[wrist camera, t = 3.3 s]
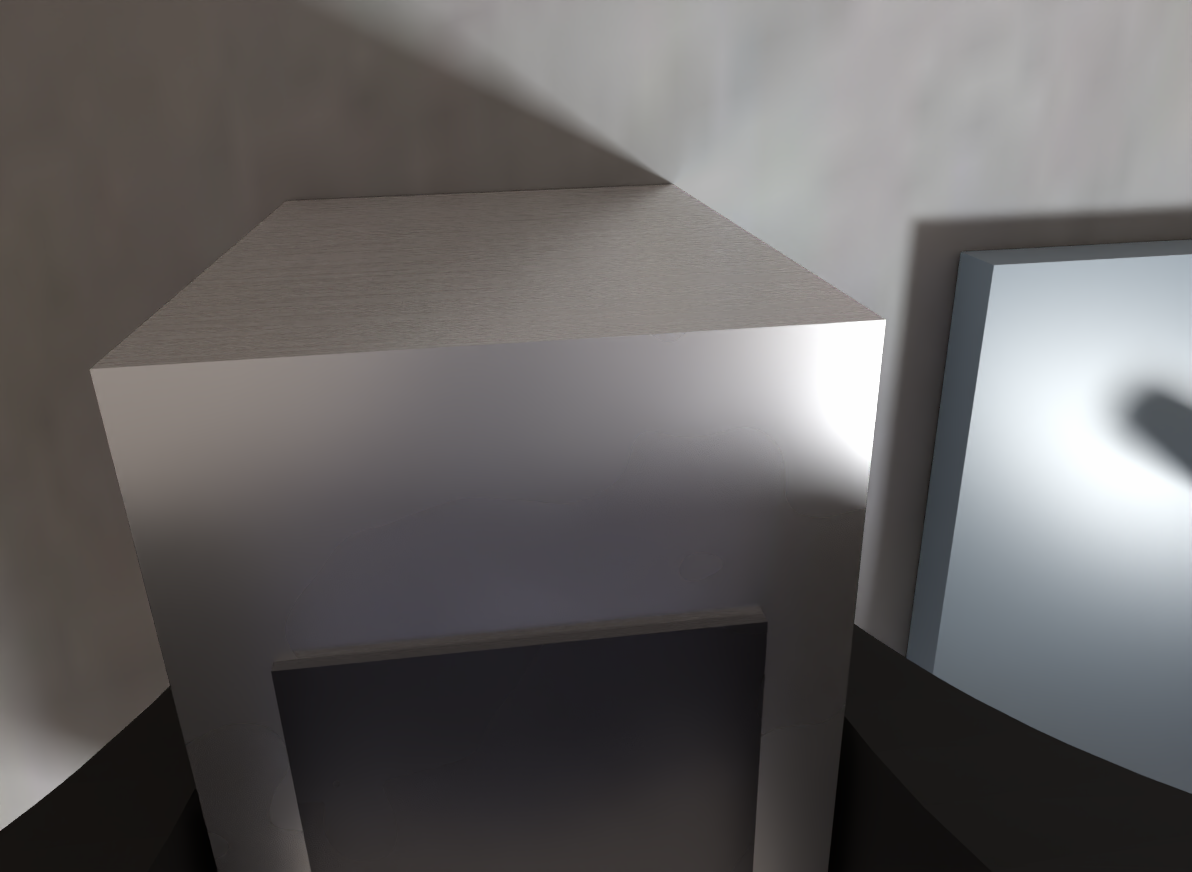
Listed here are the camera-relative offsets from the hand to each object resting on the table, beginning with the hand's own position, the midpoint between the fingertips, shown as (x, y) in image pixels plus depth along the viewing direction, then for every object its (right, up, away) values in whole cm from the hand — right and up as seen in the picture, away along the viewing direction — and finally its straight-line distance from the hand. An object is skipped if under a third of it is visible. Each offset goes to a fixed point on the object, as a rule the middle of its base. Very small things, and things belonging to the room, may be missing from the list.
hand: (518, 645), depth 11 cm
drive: (0, +1, +2) cm, 2 cm away
